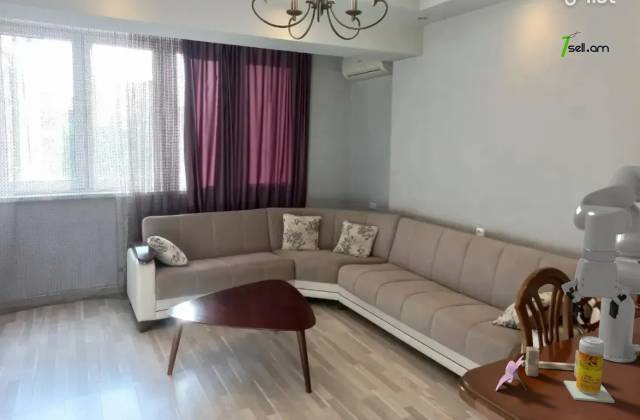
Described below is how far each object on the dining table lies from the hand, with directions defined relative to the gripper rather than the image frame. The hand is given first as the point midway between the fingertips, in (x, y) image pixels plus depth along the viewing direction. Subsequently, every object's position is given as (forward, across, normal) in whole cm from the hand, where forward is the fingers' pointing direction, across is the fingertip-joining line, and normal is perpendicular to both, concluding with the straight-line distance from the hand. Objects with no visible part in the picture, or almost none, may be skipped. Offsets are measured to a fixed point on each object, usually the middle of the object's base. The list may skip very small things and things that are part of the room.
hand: (593, 316), depth 138 cm
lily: (+22, +21, +1) cm, 31 cm away
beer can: (+22, 0, +1) cm, 22 cm away
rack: (+22, +6, -11) cm, 26 cm away
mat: (+22, 0, 0) cm, 22 cm away
